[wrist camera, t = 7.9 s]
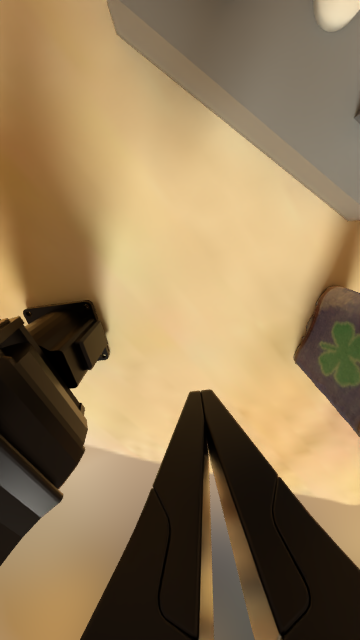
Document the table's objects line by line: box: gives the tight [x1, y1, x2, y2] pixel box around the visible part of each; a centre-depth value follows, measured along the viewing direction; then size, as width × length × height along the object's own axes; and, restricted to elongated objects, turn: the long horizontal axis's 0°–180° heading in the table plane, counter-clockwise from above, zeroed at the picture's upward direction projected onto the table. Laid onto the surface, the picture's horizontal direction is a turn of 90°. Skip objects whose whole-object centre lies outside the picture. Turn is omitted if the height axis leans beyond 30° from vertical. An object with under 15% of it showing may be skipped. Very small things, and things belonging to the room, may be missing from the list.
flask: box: [293, 286, 360, 437], centre depth 15 cm, size 9×3×11 cm, turn 173°
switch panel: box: [107, 0, 360, 221], centre depth 10 cm, size 20×8×5 cm, turn 61°
